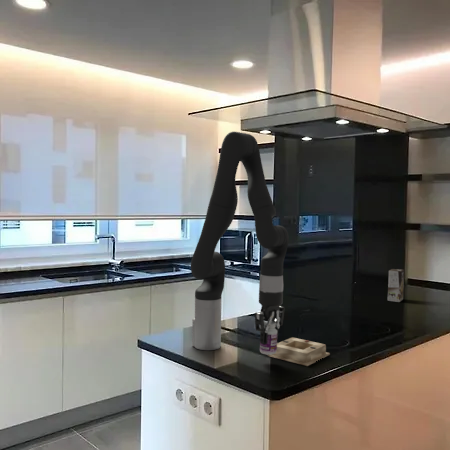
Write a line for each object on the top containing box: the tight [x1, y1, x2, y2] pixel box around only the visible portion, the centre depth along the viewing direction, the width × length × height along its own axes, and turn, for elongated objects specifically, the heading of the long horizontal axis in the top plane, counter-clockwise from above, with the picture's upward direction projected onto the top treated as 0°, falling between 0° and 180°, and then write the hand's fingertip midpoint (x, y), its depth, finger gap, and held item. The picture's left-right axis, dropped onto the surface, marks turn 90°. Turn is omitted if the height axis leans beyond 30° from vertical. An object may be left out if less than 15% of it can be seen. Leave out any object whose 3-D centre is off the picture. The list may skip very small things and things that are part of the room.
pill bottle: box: [259, 321, 278, 356], centre depth 156 cm, size 5×5×10 cm
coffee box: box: [387, 268, 405, 303], centre depth 260 cm, size 9×6×16 cm
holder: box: [267, 336, 331, 367], centre depth 164 cm, size 15×15×4 cm
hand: (268, 341), depth 156 cm, fingers closed on pill bottle, 5 cm apart
